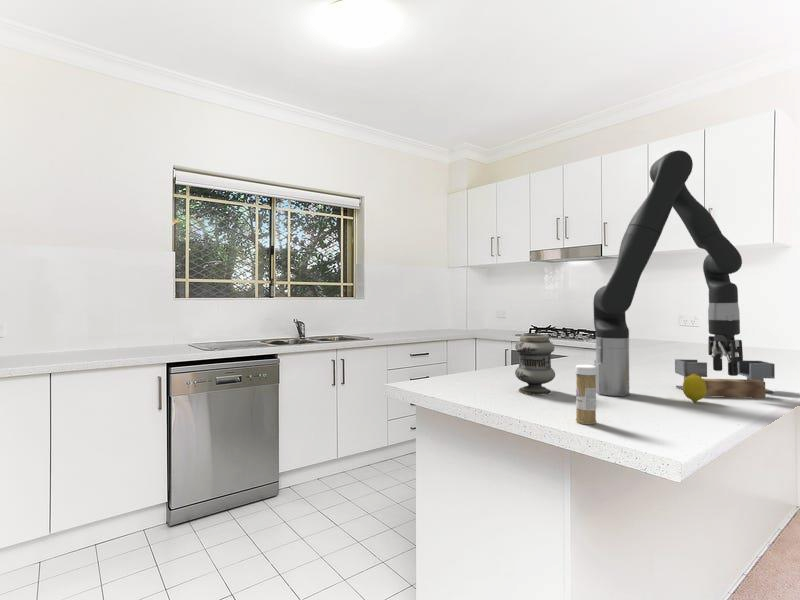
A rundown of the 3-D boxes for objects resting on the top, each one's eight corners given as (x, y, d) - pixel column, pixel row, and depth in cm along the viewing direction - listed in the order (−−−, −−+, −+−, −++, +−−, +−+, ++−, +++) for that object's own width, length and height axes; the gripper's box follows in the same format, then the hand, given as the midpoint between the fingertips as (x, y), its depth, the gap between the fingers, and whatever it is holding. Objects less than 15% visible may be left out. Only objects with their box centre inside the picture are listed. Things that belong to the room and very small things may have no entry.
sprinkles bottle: (572, 420, 107) (571, 364, 107) (590, 419, 108) (590, 363, 108) (581, 425, 103) (581, 367, 103) (600, 424, 103) (600, 366, 103)
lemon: (699, 400, 127) (699, 372, 127) (710, 404, 121) (710, 375, 121) (678, 399, 127) (678, 371, 127) (689, 404, 122) (689, 375, 122)
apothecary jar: (515, 395, 135) (515, 335, 135) (514, 387, 147) (514, 332, 147) (557, 396, 133) (557, 336, 133) (553, 388, 145) (552, 333, 145)
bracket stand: (684, 391, 139) (683, 362, 139) (674, 386, 146) (674, 359, 146) (775, 393, 134) (775, 363, 134) (761, 389, 141) (760, 360, 141)
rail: (689, 397, 132) (689, 380, 132) (684, 394, 135) (684, 378, 135) (765, 399, 128) (765, 381, 128) (757, 396, 132) (757, 379, 132)
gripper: (698, 317, 139) (699, 369, 139) (722, 319, 125) (723, 377, 125) (725, 317, 138) (726, 369, 138) (752, 319, 124) (753, 377, 124)
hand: (725, 373), depth 132 cm, fingers open, 8 cm apart
